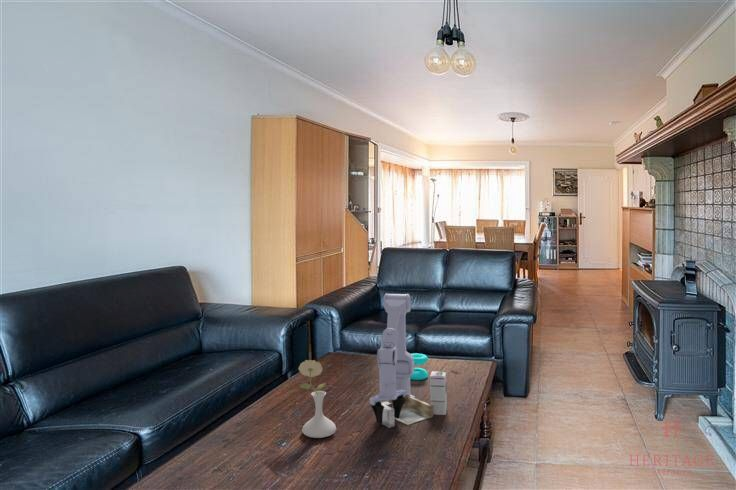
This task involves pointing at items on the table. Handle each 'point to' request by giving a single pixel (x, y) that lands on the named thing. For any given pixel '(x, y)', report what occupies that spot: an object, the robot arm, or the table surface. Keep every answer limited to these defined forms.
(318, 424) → the flower in vase
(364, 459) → the table surface
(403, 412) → the arena
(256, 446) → the table surface
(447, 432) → the table surface
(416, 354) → the donuts
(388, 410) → the bracket
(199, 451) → the table surface
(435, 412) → the syrup box
